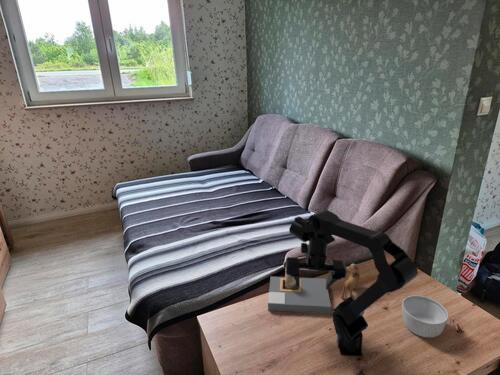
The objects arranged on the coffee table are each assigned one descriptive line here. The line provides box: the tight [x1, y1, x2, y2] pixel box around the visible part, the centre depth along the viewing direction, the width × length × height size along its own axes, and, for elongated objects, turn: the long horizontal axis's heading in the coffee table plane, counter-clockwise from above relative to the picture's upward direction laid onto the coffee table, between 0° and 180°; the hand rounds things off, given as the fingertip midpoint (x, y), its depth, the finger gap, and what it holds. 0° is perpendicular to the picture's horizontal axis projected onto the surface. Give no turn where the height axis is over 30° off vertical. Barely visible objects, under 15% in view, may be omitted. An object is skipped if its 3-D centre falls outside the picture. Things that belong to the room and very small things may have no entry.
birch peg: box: [284, 268, 297, 290], centre depth 118 cm, size 4×4×10 cm
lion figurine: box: [341, 263, 360, 300], centre depth 117 cm, size 15×5×9 cm, turn 155°
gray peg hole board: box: [267, 276, 332, 315], centre depth 116 cm, size 22×16×3 cm
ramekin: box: [401, 294, 449, 339], centre depth 100 cm, size 13×13×7 cm
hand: (312, 287), depth 102 cm, fingers open, 9 cm apart
